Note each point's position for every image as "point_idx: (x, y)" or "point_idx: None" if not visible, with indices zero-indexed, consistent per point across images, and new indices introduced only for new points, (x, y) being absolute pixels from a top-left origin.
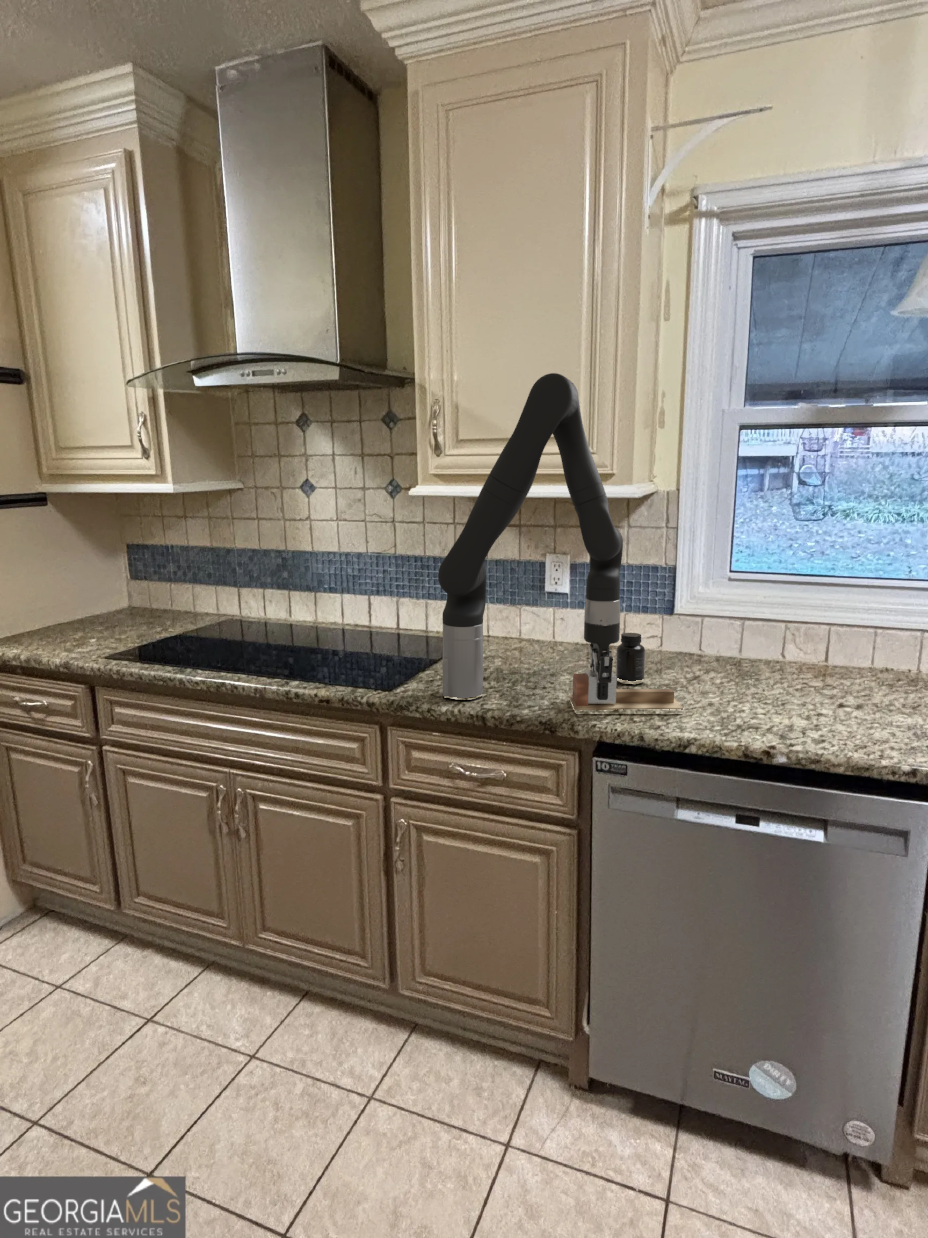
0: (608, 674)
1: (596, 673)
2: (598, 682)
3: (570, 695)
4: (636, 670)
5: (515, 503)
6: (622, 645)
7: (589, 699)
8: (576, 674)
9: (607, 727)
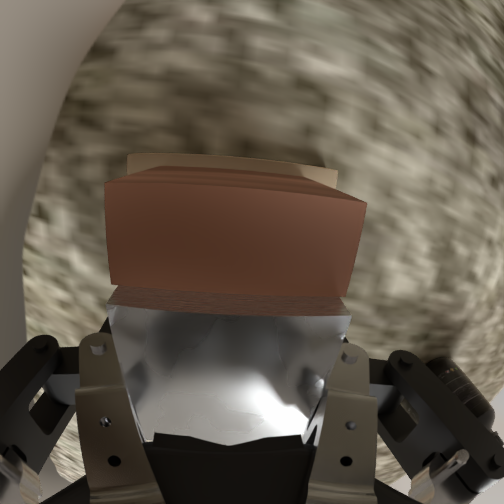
0: (58, 418)
1: (222, 380)
2: (86, 337)
3: (332, 174)
4: (416, 420)
5: None
6: None
7: None
8: (333, 225)
9: (31, 252)
